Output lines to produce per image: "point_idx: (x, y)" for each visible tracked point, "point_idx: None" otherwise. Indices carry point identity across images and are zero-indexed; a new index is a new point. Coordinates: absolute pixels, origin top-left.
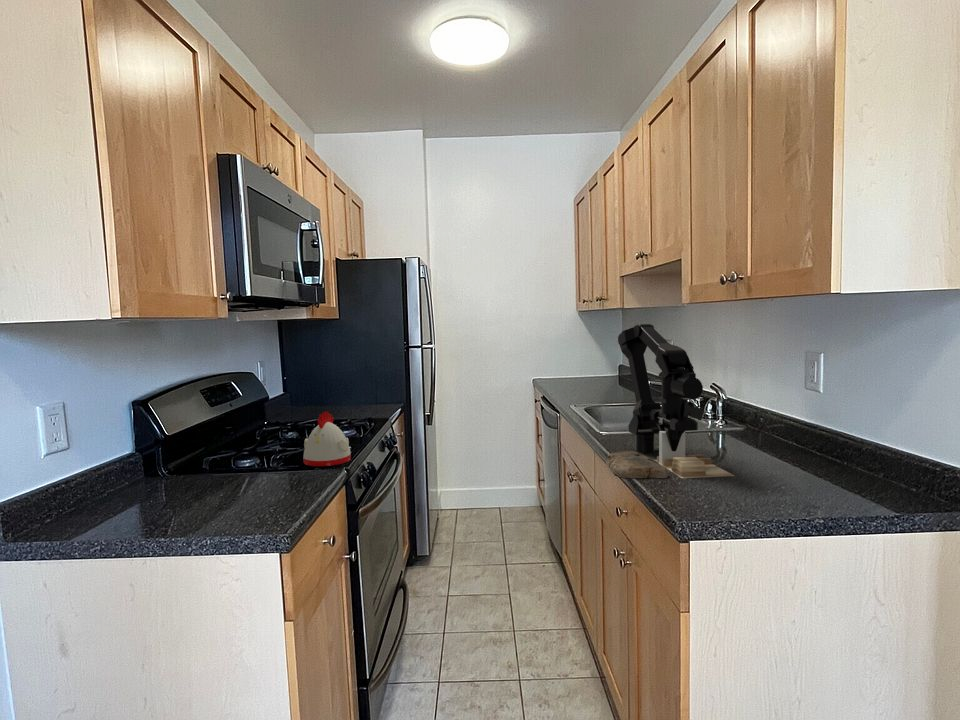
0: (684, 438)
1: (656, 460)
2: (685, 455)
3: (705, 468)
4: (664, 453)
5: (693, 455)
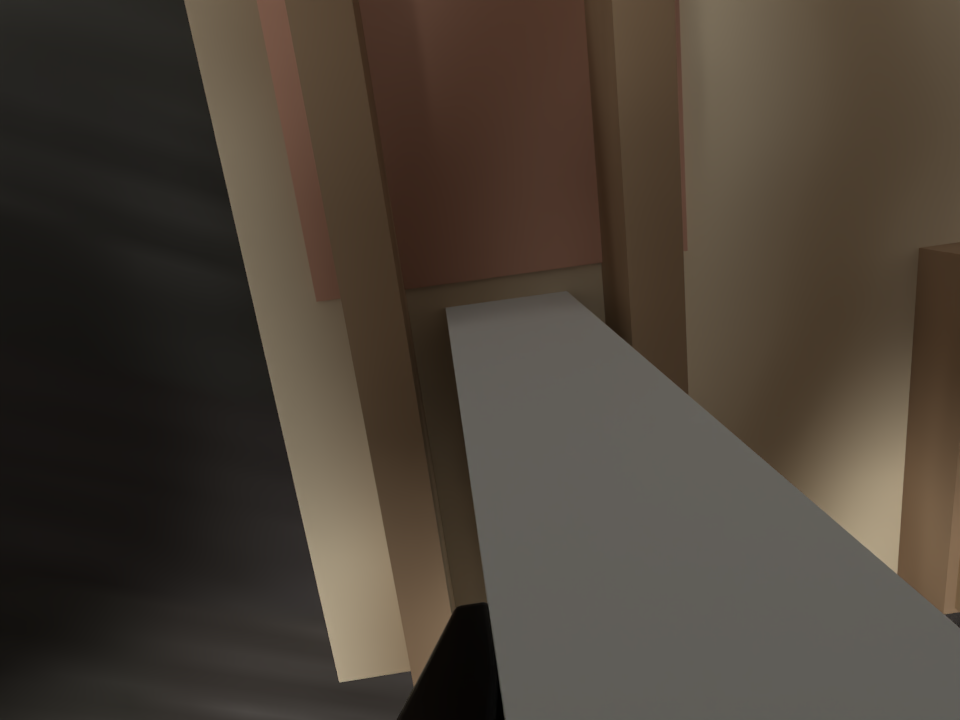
0: (804, 533)
1: (354, 653)
2: (348, 230)
3: (897, 43)
4: None
5: (344, 50)
